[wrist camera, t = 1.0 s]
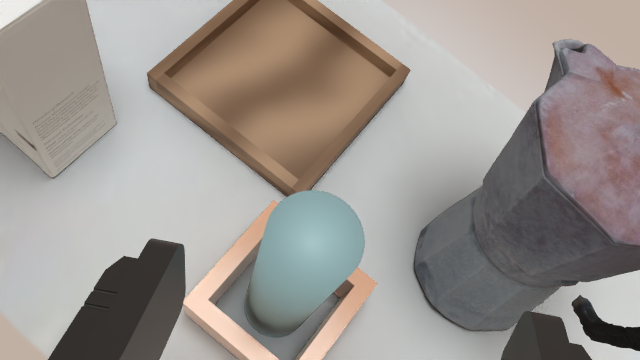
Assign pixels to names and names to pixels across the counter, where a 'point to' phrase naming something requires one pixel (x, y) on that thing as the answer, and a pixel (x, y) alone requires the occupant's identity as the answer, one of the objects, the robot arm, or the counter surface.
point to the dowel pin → (302, 260)
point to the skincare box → (51, 81)
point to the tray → (279, 86)
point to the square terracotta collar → (238, 340)
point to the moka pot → (547, 205)
